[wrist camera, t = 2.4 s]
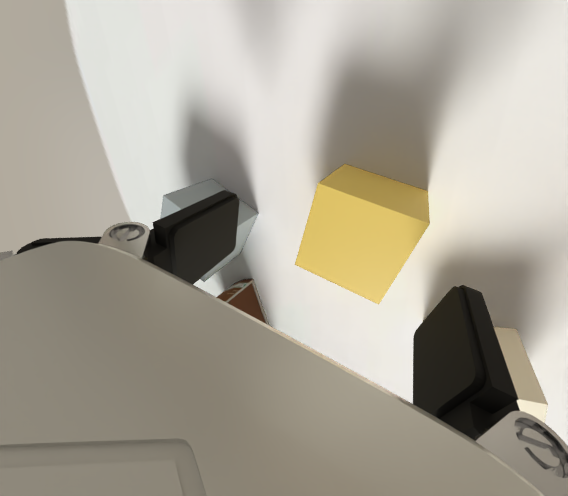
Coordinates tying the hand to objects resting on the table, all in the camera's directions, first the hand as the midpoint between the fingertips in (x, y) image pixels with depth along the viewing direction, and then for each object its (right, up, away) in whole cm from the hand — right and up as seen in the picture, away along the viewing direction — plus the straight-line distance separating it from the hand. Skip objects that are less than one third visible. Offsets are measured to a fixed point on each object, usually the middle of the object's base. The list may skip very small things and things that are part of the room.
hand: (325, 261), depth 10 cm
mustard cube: (+4, +3, +5) cm, 7 cm away
